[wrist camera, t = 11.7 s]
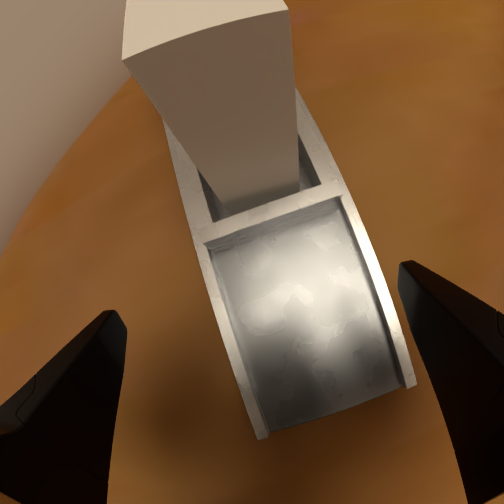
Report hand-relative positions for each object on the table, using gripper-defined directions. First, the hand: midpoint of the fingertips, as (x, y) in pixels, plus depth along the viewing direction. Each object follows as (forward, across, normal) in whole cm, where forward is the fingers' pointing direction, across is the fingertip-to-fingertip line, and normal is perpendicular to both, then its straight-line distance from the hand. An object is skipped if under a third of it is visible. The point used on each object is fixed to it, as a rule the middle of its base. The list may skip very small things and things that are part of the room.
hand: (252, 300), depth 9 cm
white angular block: (+11, 0, 0) cm, 11 cm away
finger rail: (+10, -1, +2) cm, 11 cm away
